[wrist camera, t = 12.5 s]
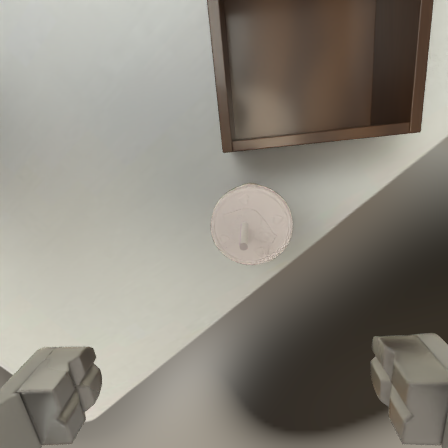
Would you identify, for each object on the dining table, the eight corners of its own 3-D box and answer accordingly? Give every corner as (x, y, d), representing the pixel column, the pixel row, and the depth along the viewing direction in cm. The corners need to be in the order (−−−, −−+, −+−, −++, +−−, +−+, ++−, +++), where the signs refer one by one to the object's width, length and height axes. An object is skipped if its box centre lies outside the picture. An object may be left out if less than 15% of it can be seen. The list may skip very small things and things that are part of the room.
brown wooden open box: (229, 148, 29) (222, 152, 22) (212, -22, 25) (198, -84, 18) (376, 132, 27) (420, 132, 20) (386, -52, 23) (447, -134, 16)
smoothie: (236, 160, 29) (226, 181, 16) (290, 186, 30) (325, 228, 16) (211, 213, 31) (184, 270, 18) (263, 237, 32) (273, 311, 18)
